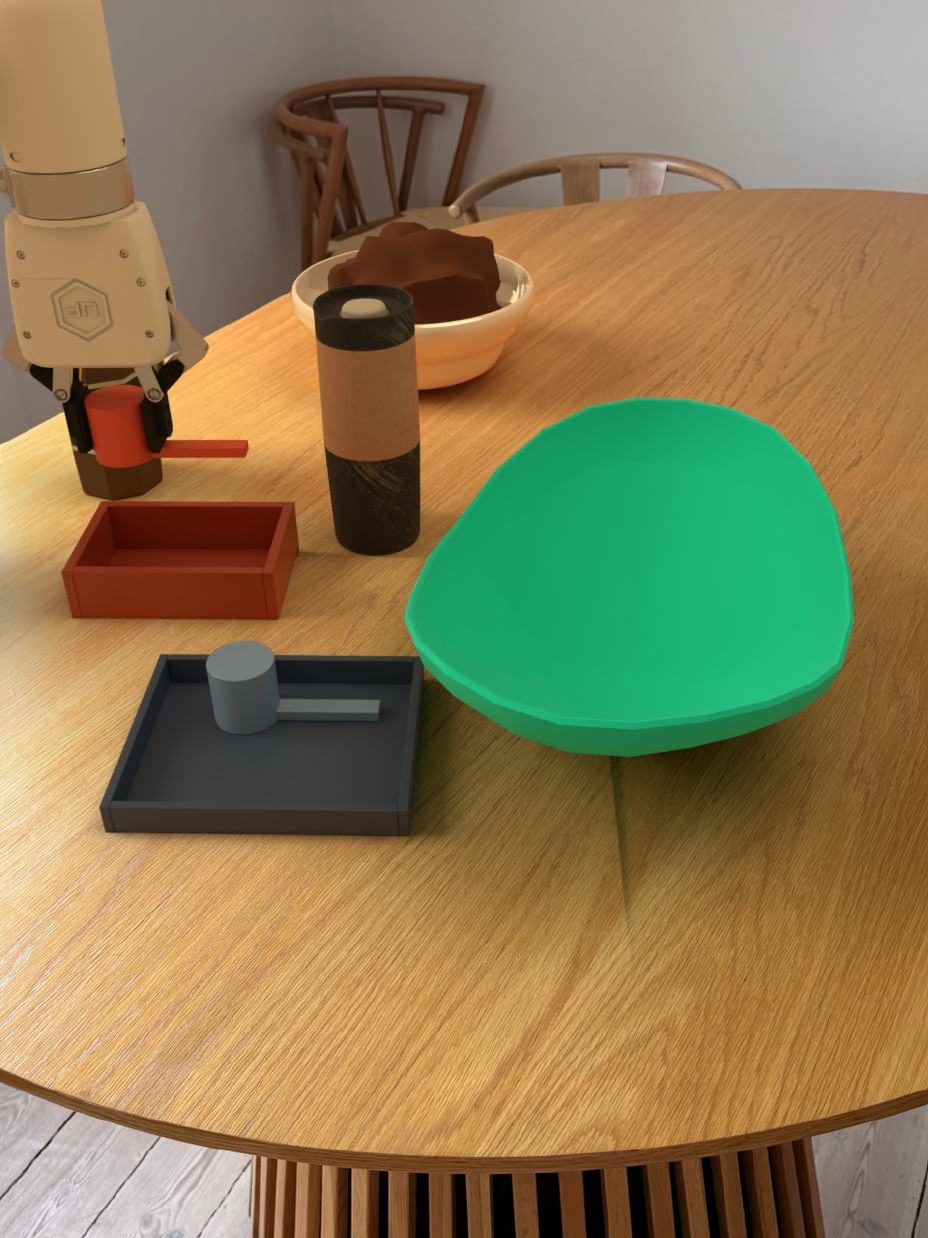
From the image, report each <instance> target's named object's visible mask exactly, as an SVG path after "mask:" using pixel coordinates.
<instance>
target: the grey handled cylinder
mask: <svg viewBox="0 0 928 1238" xmlns="http://www.w3.org/2000/svg"><path fill="white" fill-rule="evenodd" d="M209 654H210V655H209V657H208V659H207V662H206V668H207V674H208V680H209V686H210V692H211V698H212V704H213V710H214V716H215V721H216V723H217V725H218V726H219V727H220V728H221V729H223V730H224V731H226V732H229V733H232V734H238V735H247V734H254V733H258V732H261V731H263V730H266V729H267V728H269V727H271V726H272V725H273V724H274V723H275V722H276V721H277V720H295V721H379V720H380V714H381V701H380V700H346V699H280V697H279V689H278V681H277V673H276V666H275V658H274V655H275V653H274V652H273V650H272V649H271V647H269V646H268V645H266V644H264V643H262V642H259V641H256V640H255V641H254V640H237V641H232V642H228V643H225V644H223V645H221V646H219V647H217V648H216V649H214V650H213V651H212V652H211V653H209Z"/></svg>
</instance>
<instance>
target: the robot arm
mask: <svg viewBox="0 0 928 1238" xmlns="http://www.w3.org/2000/svg"><path fill="white" fill-rule="evenodd" d="M102 4H103V3H102V0H0V146H1V151H2V155H3V160H4V165H2V168H0V194H1V193H2V194H3V195H5V196H8V197H9V199H10V203H11V208H15V209H13V210H12V211H11V212H9V213H7V214H6V215H5V216H4V250H5V259H6V260H5V261H6V272H7V273H6V274H7V279H8V280H7V281H8V282H7V283H8V290H9V296H10V303H11V308H12V309H11V310H12V316H13V322H14V325H13V327H12V330H11V332H10V333H9V334H8V335H9V336H8V337H7V339H6V341H5V343H4V346H3V348H2V349H1V356H2V358H3V359H4V360H5V361H7V362H9V363H11V364H13V365H14V366H15V367H18V368H19V369H21V370H23V371H24V372H28V373H29V374H30V376H31V377H32V378H33V379H34V380H36V381H37V382H38V383H40V384H41V385H42V386H44V387H45V388H46V389H47V390H49V391H50V392H51V393H52V396H53V399H54V400H55V401H56V402H58V403H61V405H62V408H63V409H62V410H63V413H64V418H65V422H66V423H65V424H66V427H67V432H68V431H69V432H68V436H69V435H70V436H69V438H70V437H71V438H75V439H76V444H77V448H78V452H79V453H80V454H87V453H88V452H90V451H91V449H92V447H93V442H92V437H91V432H90V428H89V423H88V419H87V414H86V409H85V405H84V399H85V397H86V396H87V395H88V394H90V393H91V390H90V389H88V385H83V382H81V373H82V368H130V367H133V368H134V370H135V372H136V374H137V377H138V379H139V381H140V383H141V386H142V388H143V390H144V399H143V400H142V402H141V404H140V408H141V414H142V419H143V424H144V430H145V435H146V440H147V446H148V450H149V451H151V453H160V451H161V449H162V447H163V445H164V443H165V441H166V440H168V438H171V437H172V435H173V432H174V424H173V416H172V410H171V405H170V404H171V403H170V399H169V393H168V392H169V391H170V389H171V388H172V387H173V386H174V385H175V384H176V383H177V381H179V380H180V378H181V377H182V376H183V375H184V374H185V373H186V372H188V371H189V370H191V369H192V368H193V367H194V366H196V365H197V364H198V363H199V362H201V361H202V360H203V359H204V358H205V357H206V355H207V354H208V352H209V349H210V346H209V343H208V341H206V339H204V337H203V336H202V335H201V334H200V332H198V331H197V329H196V328H194V326H193V325H192V324H191V322H189V321H188V320H187V318H185V316H184V315H183V314H182V312H180V311H179V310H178V308H177V305H176V299H175V295H174V290H173V286H172V282H171V277H170V274H169V270H168V266H167V262H166V259H165V256H164V252H163V249H162V246H161V243H160V239H159V237H158V233H157V231H156V228H155V225H154V222H153V220H152V217H151V214H150V212H149V209H148V207H147V205H146V203H145V202H143V201H138V200H136V193H135V189H134V183H133V178H132V176H133V175H132V171H131V166H130V159H129V154H128V147H127V141H126V136H125V130H124V125H123V120H122V113H121V107H120V102H119V96H118V89H117V84H116V78H115V71H114V67H113V61H112V56H111V50H110V44H109V37H108V32H107V25H106V20H105V14H104V10H103V5H102ZM172 342H175V343H176V345H178V347H179V348H180V349H179V351H177V352H176V353H174V354H172V355H171V357H170V358H169V359H168V360H167V361H166V362H165V359H166V357H167V356H168V355H169V353H170V351H171V343H172Z"/></svg>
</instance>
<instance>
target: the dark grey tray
mask: <svg viewBox="0 0 928 1238" xmlns="http://www.w3.org/2000/svg"><path fill="white" fill-rule="evenodd" d="M210 654H211V653H209V654H208V653H207V654H201V653H200V654H197V653H196V654H194V653H193V654H192V653H191V654H190V653H160V655H159V656H158V659H157V661H156V663H155V667H154V669H153V672H152V674H151V676H150V679H149V681H148V684H147V687H146V689H145V692H144V694H143V697H142V699H141V701H140V704H139V707H138V709H137V712H136V714H135V716H134V719H133V721H132V724H131V726H130V729H129V731H128V734H127V737H126V739H125V742H124V744H123V747H122V749H121V752H120V754H119V757H118V759H117V762H116V765H115V767H114V769H113V771H112V774H111V777H110V779H109V781H108V784H107V786H106V789H105V791H104V794H103V796H102V799H101V802H100V803H99V805H98V806H99V808H98V809H99V812H100V816H101V820H102V825H103V828H104V829H103V830H104V833H109V834H113V833H115V834H184V835H186V834H187V835H189V834H190V835H260V836H261V835H262V836H263V835H265V836H268V835H270V836H328V837H329V836H334V837H335V836H336V837H337V836H338V837H341V836H342V837H343V836H344V837H404V838H405V837H406V838H407V837H410V834H411V833H410V832H411V823H412V813H413V804H414V793H415V792H414V791H415V781H416V771H417V761H418V753H419V752H418V750H419V740H420V731H421V720H422V711H423V710H422V709H423V699H424V688H425V667H424V665H423V663H422V661H421V658H420V656H419V655H330V654H329V655H325V654H324V655H323V654H320V655H319V654H318V655H317V654H316V655H315V654H314V655H313V654H312V655H311V654H274V658H275V666H276V673H277V681H278V689H279V697H280V699H346V700H380V701H381V714H380V720H379V721H295V720H277V721H276V722H275V723H274V724H273V725H272V726H271V727H269V728H267V729H266V730H263V731H261V732H258V733H254V734H247V735H238V734H232V733H229V732H226V731H224V730H223V729H221V728H220V727H219V726H218V725H217V723H216V721H215V716H214V710H213V704H212V698H211V692H210V686H209V680H208V674H207V668H206V662H207V659H208V657H209V655H210Z"/></svg>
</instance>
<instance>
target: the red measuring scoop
mask: <svg viewBox="0 0 928 1238" xmlns="http://www.w3.org/2000/svg"><path fill="white" fill-rule="evenodd" d="M143 399H144V390H143V388H141V387H138V386H133V385H114V386H108V387H104V388H101V389H98V390H95V391H93V392H91V393H90V394H88V395H87V396H86V397H85V399H84V405H85V409H86V414H87V419H88V423H89V428H90V432H91V437H92V442H93V446H94V451H95V456H96V459H97V461H98V462H99V463H100V464H102V465H104V466H107V467H114V468H124V467H132V466H136V465H140V464H142V463H145V462H147V461H149V460H150V459H152V458H161V459H245V458H247V455H248V452H249V449H250V447H249V441H248V439H167V440H166V441H165V443H164V445H163V447H162V449H161V451H160V453H151V451H149V450H148V446H147V440H146V435H145V430H144V424H143V419H142V414H141V408H140V404H141V402H142V400H143Z"/></svg>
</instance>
